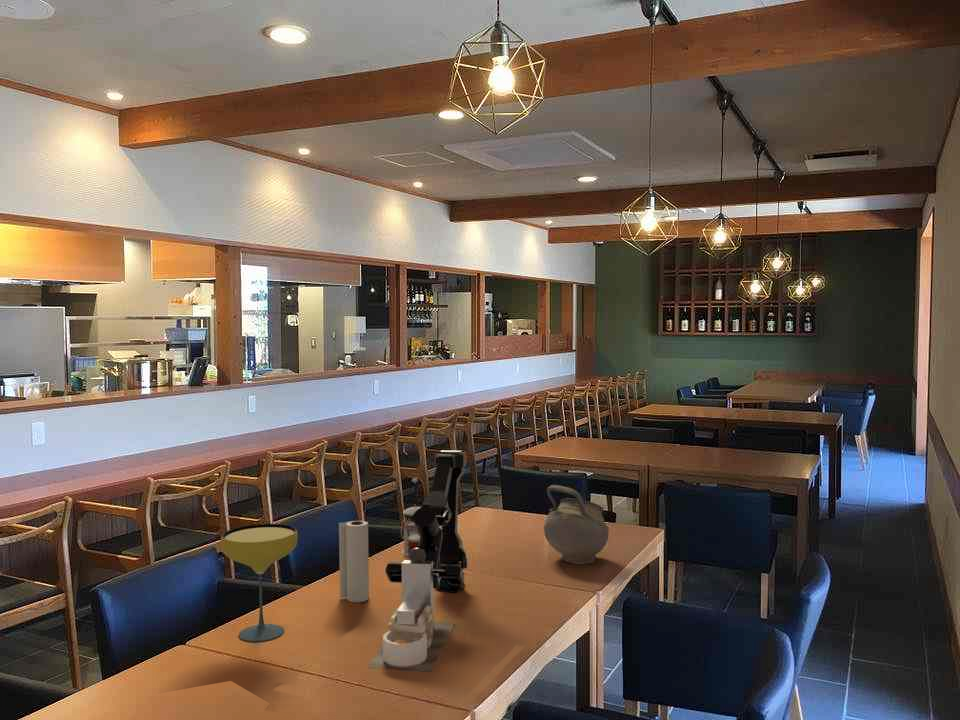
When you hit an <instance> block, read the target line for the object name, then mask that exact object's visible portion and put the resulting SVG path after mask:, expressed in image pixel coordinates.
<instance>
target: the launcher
mask: <svg viewBox="0 0 960 720" xmlns="http://www.w3.org/2000/svg"><path fill="white" fill-rule="evenodd" d="M401 605H402V603H401V604H400V605H399V606H398V608H397V609H396V610H395V612H393V615H392V616H391V617H390V622H388V631H397V632H415V633H424V632H426V634H427V659H426V660H425V661H424V662H423V663H421V664H419V665H416V666H412V667H394V666H390V665H388V664H386V663H385V662H384V658H383V645H382V646H381V647H380V649H379V650H378V651H377V652H376V654H375V655H374V657H373V658H372V660H371V661H370V662H369V664H368V665H367V667H366V668H367V669H378V670H393V671H408V672H409V671H412V672H422V673H423V672H427V673H430V672H431V671H432V669H433V666H434V665H435V663H436V661H437V659H438V657H439V655H440V653H441V651H442V649H443V648H444V646H445V644H446V642H447V640H448V638H449V636H450V634H451V632H452V631H453V628H456V622H444V621H443V622H442V621H434V635H433V622H432V612H430V605H427V606H426V607H425V609H424V610H423V612H422V614H421V615H420V617H419V618H418V620H417V622H416V623H415V625H407V624H397V610H398V609H399V607H400V606H401Z"/></svg>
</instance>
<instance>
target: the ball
mask: <svg viewBox="0 0 960 720" xmlns="http://www.w3.org/2000/svg"><path fill="white" fill-rule="evenodd" d="M395 643H407V642H406V641H405V640H402V639H399V640H396V641H395Z"/></svg>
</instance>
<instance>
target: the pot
mask: <svg viewBox="0 0 960 720" xmlns="http://www.w3.org/2000/svg"><path fill="white" fill-rule="evenodd" d="M551 491H553V492H560V493H564V494H565V493H566V494H569V495H572V496H573V497H575V498H571V497H569V498H568V497H567V498H566V497H564V498H561V499H560V503H559V505H558V504H557V502H556V501H555V499H554V497H553V494H552V492H551ZM546 494H547V496H548V498H549V500H550V501H551V504H552V505H553V507H552V508H550V509H548V511H549V512H548V515H547V517H546V519H545V522H544V525H543V533H544V536H545V539H546V541H547V543H548V545H549V546H551V547H552V549H554V550H555V551H556V552H557V553H558V552H559V553H560V555H561V557H562V560H563V561H564V562H567V563H571V564H576V565H577V564H579V565H585V563H586V564H590V563H593V562H594V561H595V558H596V556H597V555H598V554H599V553H601V551H602V550H603V549H604V548H605V546H606V544H607V542H609V541H608V540H609V536H610V535H609V531H610V528H609V526H608V525H607V524H606V522H605V518H604V516H603V514H602V513H603V512H604V508H603V507H602V506H601V505H599V504H597V503H595V502H593V501H589V500H584V499H583V497H582V495H581V493H579V492H578V491H577V490H576V489H573V488H571V487H568V486H563V485H558V484H552V485H550V486H548V487H547V488H546ZM557 505H558V506H557Z"/></svg>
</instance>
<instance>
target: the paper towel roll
mask: <svg viewBox="0 0 960 720" xmlns="http://www.w3.org/2000/svg"><path fill="white" fill-rule="evenodd" d="M338 540H339V541H338V545H339V546H338V548H339V551H338V553H339V557H338V558H339V598H340V599H344V598H346V599H347V601H348V602H350V603H362V602H363V603H364V602H366V601H368V600H369V599H370V568H369V567H370V565H369V564H370V562H369V558H370V557H369V556H370V555H369V522H368V521H367V520H366V521H365V520H353V521H352V520H351V521H347V522H339V523H338Z"/></svg>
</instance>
